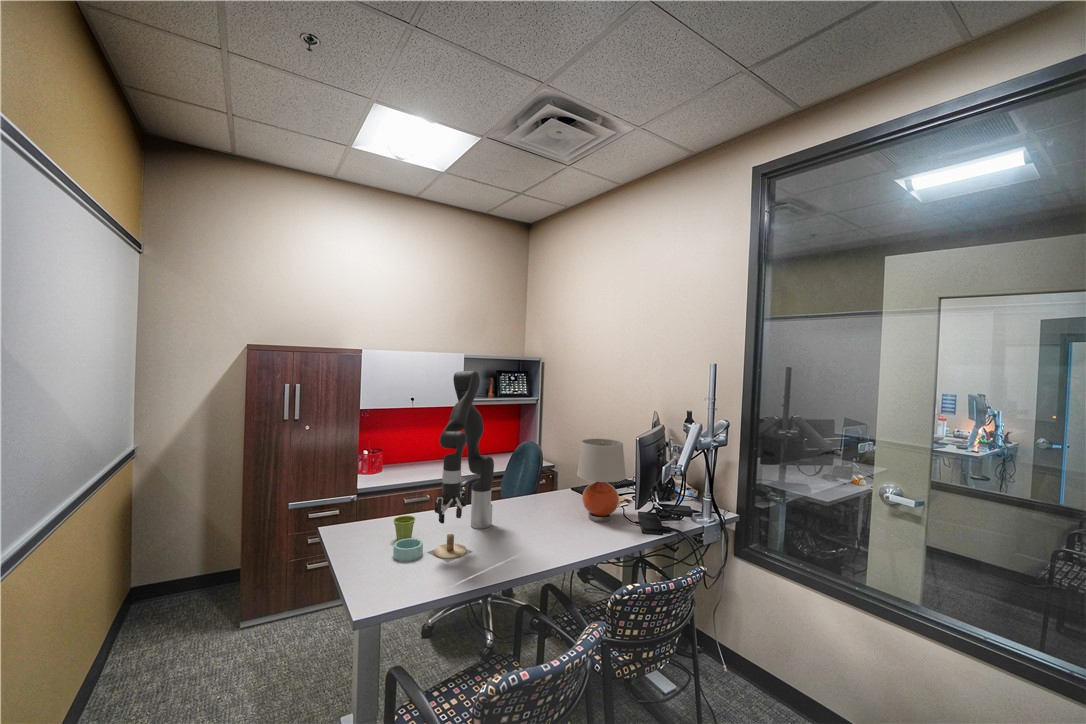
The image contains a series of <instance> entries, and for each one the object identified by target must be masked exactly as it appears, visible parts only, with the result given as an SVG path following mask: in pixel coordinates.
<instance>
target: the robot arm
mask: <svg viewBox="0 0 1086 724" xmlns="http://www.w3.org/2000/svg"><path fill="white" fill-rule="evenodd" d="M452 381H453V386H454V390H455V394H456V398H457V403H456V404H455V405H454V406H453V407H452V410H451V414H450V417H449V419H448V422H447V424H446V426H445V428H444V429H443V430H442V433H441V434H440V437H439V444H440V445H439V446H441V448H443V449H453V450H454V449H455V452H453V453H448V454H445V455H444V457H443V467H442V468H443V470H442V478H441V479H442V483H441V492H442V496H441V497H438V496H437V497H435V502H434V513H435V514H438V522H439V523H440V524H445V515H446V514H445V513H446V511H447V510H448V509H449V507H452V506H453V507H454V506H455V507H456V509H455V512H456V513H455V514H456V515H455V517H456V518H457V519H461V518H462V515H463V514H462V513H463V508H464V507H465V508H466V506H467V492H465V491H461V489H462V470H461V469H462V457H463V453H464V449H465V447H466V450H467V463H468V468H469V472H470V473H472V474H473V475H479V476H480V477H479V480H477V481H474V482H473V483H472V484H471V500H470V501H471V503H470V504H471V506H470V507H471V508H470V526H471V528H474V529H479V530H481V529H487V528H489V527H491V525H492V524H493V504H492V486H493V483H494V472H495V462H494V459H493V456H488V455H484V454H481V452H480V449H479V448H480V446H479V445H480V441H481V440H482V436H483V433H484V431H485V430H484V421H483V417H482V414H481V412H480V411H479V410H478V409H477V407H476V406H475V405H474V404H473V403H474V401H475V398H476V395H477V393H478V390H479V388H480V383H481V379H480V374H479V373H478V371H476V370H466V371H465V370H464V371H463V370H462V371H457V372H454V374H453V380H452Z"/></svg>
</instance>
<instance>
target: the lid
mask: <svg viewBox="0 0 1086 724" xmlns="http://www.w3.org/2000/svg"><path fill="white" fill-rule="evenodd" d="M466 549H467V547H466V546H465V545H463V544H460V543H459V544H458V543H455V534H453V533H449V534H447V535H446V544H441V545H439V546H436V547H435V548H434V549H433V550H434V555H435V556H434V557H435V558H438V559H440V558H442V559H454V558H457V559H459V558H461V557H464V556H465V555H464V554H465V553H466ZM463 555H464V556H463ZM458 557H459V558H458ZM442 559H441V560H442ZM454 560H455V559H454Z"/></svg>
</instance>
